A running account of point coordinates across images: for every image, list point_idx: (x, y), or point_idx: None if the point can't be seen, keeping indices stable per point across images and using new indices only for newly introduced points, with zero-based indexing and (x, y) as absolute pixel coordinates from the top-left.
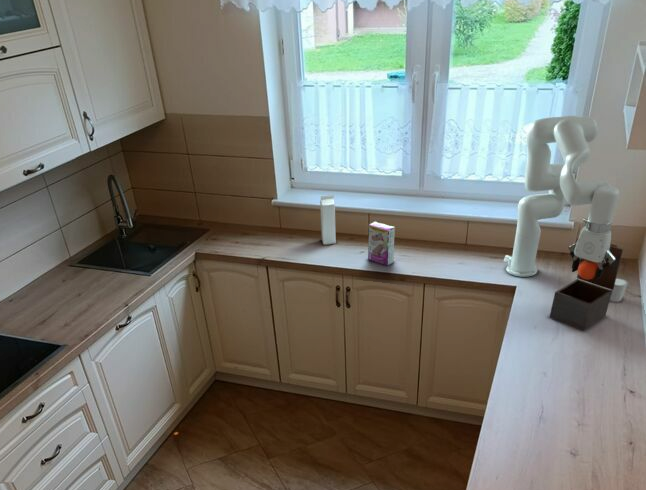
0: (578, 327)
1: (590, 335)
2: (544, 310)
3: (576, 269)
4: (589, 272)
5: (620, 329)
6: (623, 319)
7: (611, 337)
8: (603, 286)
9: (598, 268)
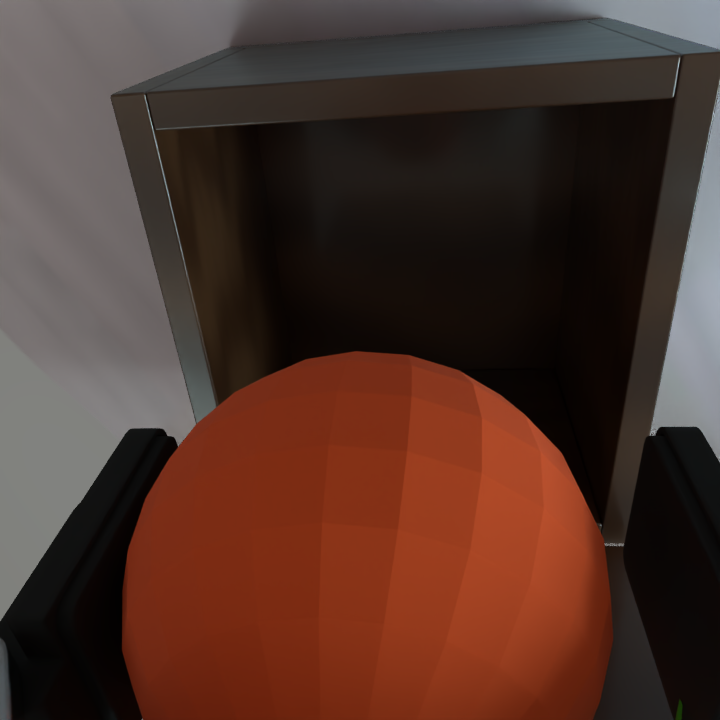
0: (283, 43)
1: (139, 17)
2: (716, 114)
3: (638, 526)
4: (198, 451)
5: (94, 290)
6: (183, 417)
7: (31, 131)
8: None
9: (42, 641)
